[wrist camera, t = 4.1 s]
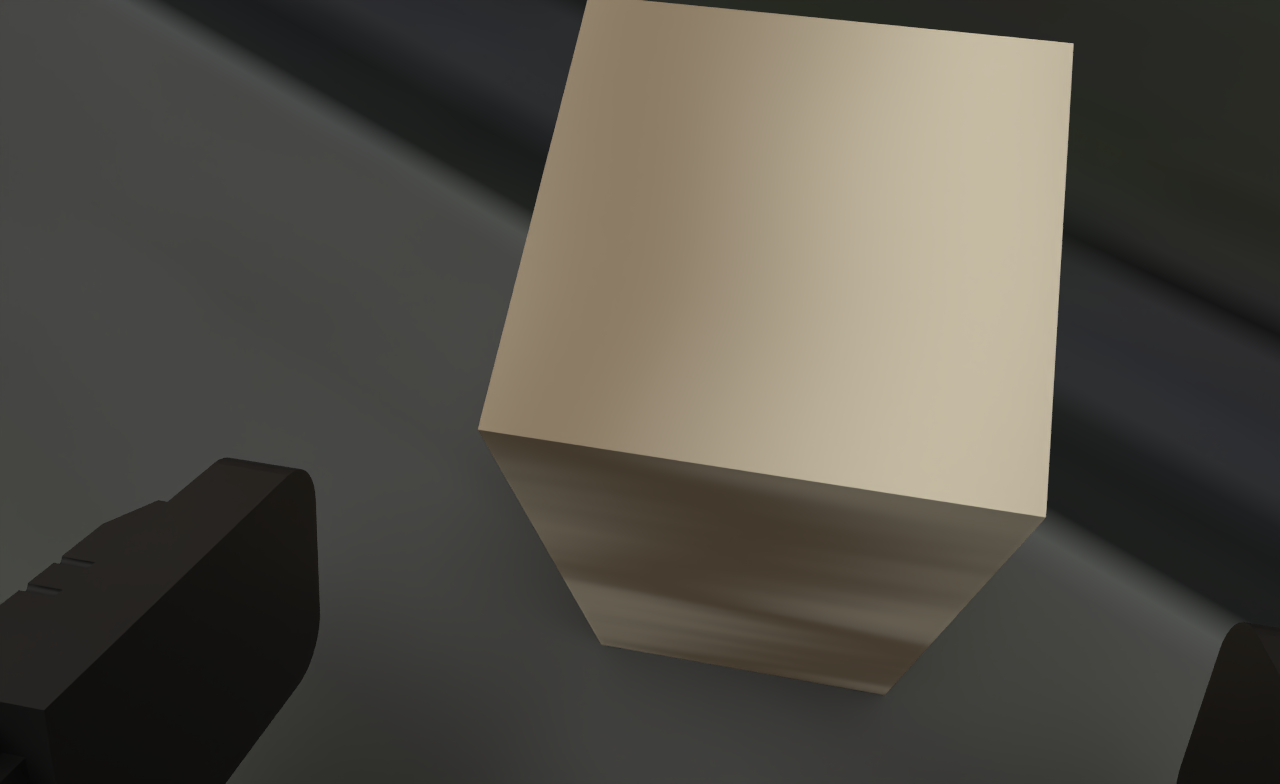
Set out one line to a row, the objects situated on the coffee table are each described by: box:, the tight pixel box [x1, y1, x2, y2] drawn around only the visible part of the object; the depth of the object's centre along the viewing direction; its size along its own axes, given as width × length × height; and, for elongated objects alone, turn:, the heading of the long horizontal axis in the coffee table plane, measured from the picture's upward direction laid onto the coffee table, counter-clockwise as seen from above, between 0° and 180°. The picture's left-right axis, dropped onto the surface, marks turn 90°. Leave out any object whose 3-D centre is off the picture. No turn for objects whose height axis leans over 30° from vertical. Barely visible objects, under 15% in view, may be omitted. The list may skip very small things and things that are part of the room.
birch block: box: [478, 0, 1073, 695], centre depth 15 cm, size 5×5×10 cm
